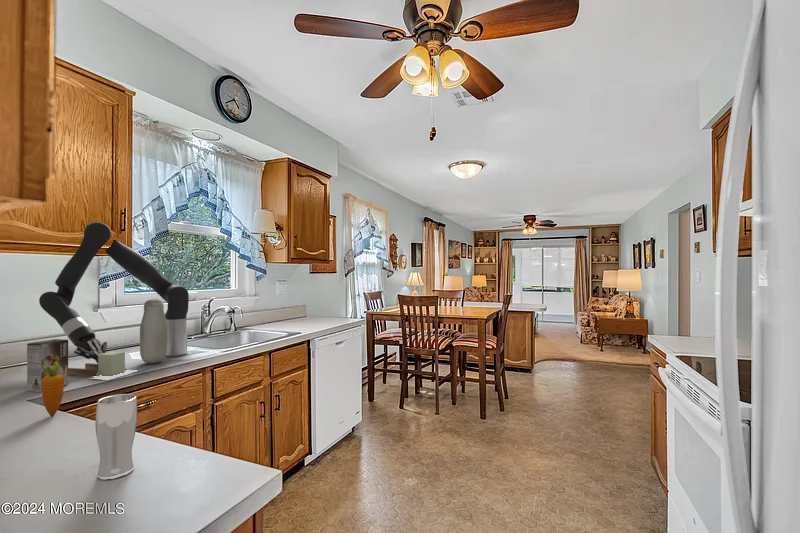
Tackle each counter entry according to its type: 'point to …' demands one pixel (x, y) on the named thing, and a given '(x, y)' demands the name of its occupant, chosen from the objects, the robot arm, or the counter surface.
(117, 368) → the block
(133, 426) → the beer glass
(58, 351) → the coffee box
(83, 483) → the counter surface
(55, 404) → the carrot
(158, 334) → the grey bottle
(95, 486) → the counter surface
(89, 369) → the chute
